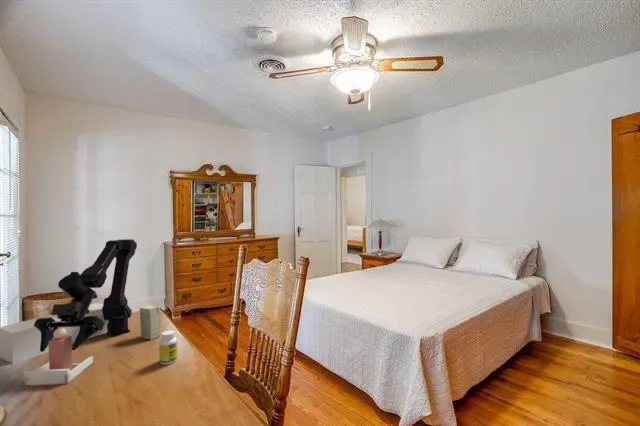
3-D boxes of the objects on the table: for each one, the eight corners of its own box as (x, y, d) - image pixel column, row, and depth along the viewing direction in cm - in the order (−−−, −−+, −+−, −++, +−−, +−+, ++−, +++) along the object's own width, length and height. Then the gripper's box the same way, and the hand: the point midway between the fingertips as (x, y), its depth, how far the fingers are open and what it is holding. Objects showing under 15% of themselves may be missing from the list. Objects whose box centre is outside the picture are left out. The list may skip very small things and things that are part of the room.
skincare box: (160, 336, 130) (160, 306, 129) (151, 340, 126) (150, 309, 125) (149, 333, 132) (149, 304, 132) (140, 337, 128) (139, 307, 128)
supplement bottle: (170, 365, 105) (169, 336, 105) (156, 364, 107) (155, 335, 106) (180, 358, 111) (180, 330, 110) (167, 356, 112) (166, 328, 112)
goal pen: (55, 365, 106) (54, 353, 106) (93, 363, 107) (92, 351, 107) (24, 385, 94) (24, 372, 94) (67, 383, 95) (67, 370, 95)
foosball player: (59, 369, 103) (57, 326, 102) (72, 369, 103) (71, 325, 103) (49, 376, 99) (48, 330, 98) (63, 375, 99) (61, 330, 99)
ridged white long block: (97, 326, 141) (97, 302, 141) (111, 331, 136) (111, 306, 136) (-1, 357, 113) (-2, 327, 113) (12, 364, 108) (11, 332, 108)
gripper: (36, 293, 103) (7, 341, 93) (97, 291, 105) (75, 338, 94) (55, 309, 112) (30, 355, 101) (112, 307, 113) (93, 353, 102)
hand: (57, 350), depth 99 cm, fingers open, 9 cm apart
